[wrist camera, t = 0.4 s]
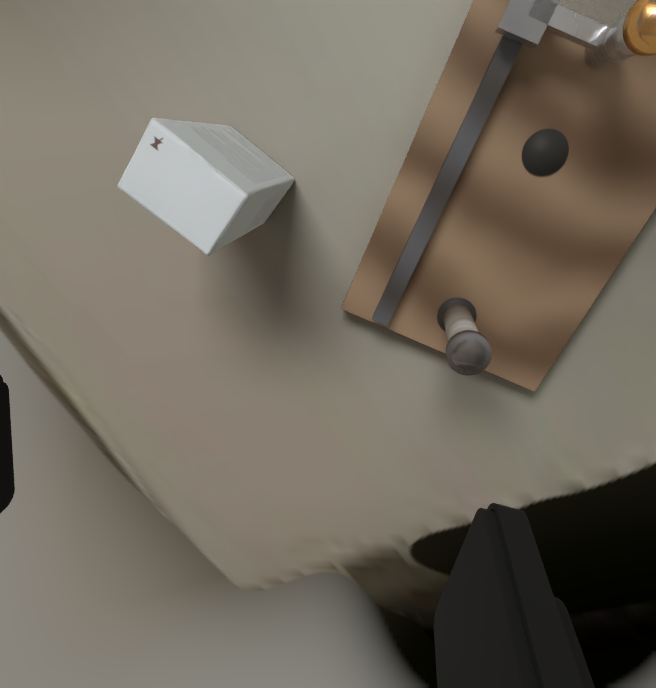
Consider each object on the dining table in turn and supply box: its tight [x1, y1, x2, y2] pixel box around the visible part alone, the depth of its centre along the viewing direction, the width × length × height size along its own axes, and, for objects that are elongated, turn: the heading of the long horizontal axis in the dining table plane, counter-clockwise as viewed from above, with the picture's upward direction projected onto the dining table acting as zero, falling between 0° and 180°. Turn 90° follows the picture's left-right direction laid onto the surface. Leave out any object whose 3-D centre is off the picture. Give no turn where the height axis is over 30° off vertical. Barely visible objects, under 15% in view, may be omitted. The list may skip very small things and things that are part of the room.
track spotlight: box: [495, 0, 656, 69], centre depth 25 cm, size 3×8×7 cm, turn 68°
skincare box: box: [118, 118, 295, 255], centre depth 30 cm, size 6×4×12 cm
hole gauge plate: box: [341, 0, 656, 392], centre depth 30 cm, size 22×16×9 cm
